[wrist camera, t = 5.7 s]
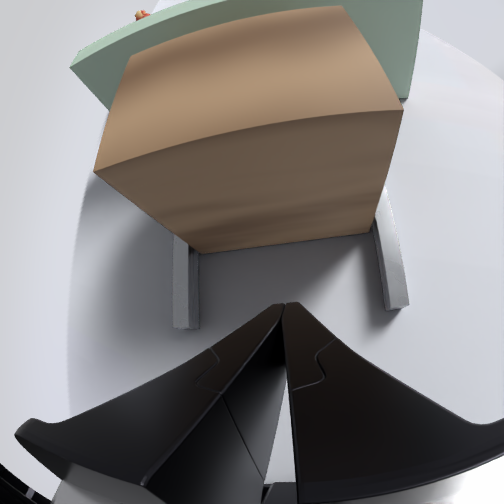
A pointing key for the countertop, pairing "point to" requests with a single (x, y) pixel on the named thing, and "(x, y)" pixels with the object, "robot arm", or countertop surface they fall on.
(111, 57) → the backboard
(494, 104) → the countertop surface
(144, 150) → the walnut block
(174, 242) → the guide rails
